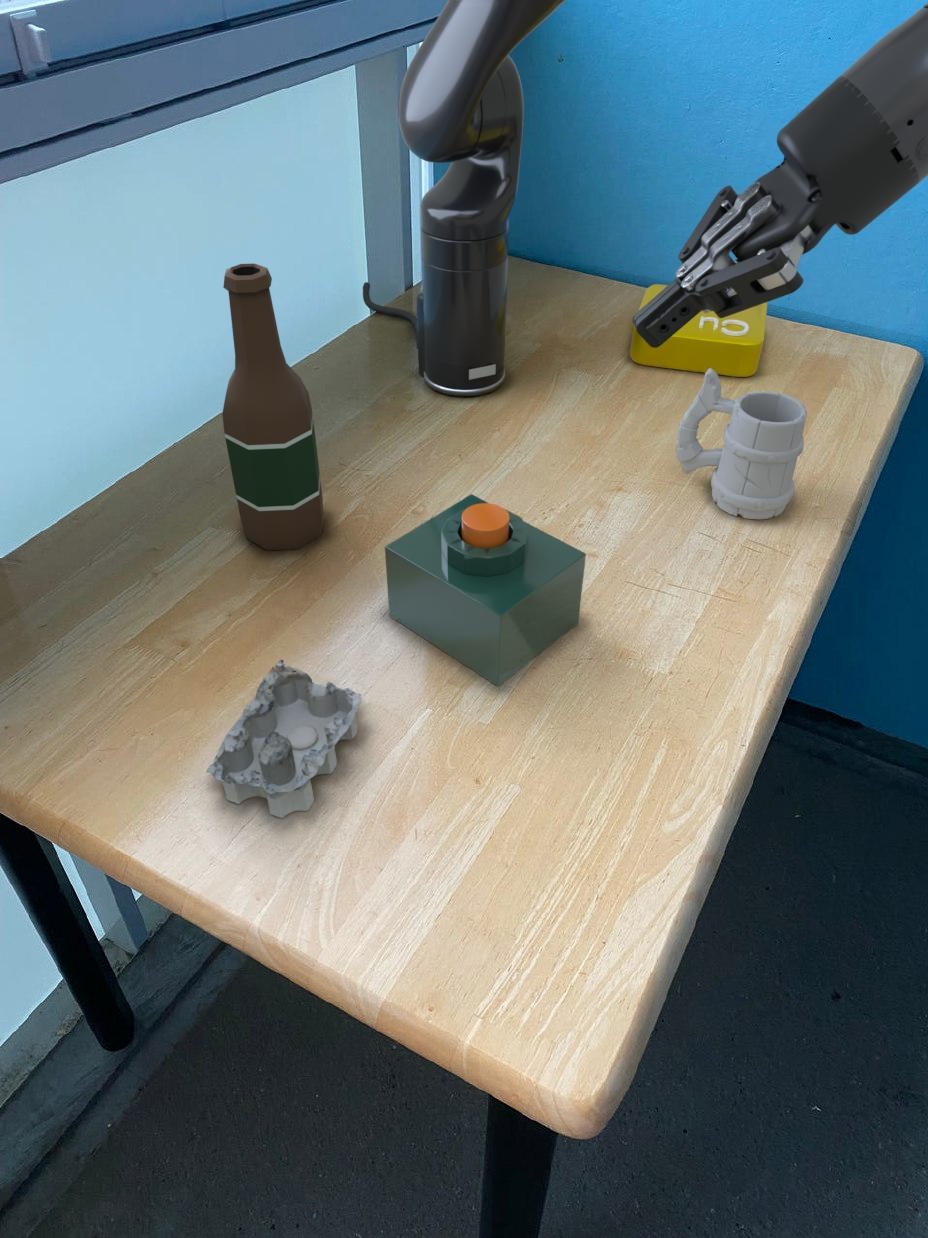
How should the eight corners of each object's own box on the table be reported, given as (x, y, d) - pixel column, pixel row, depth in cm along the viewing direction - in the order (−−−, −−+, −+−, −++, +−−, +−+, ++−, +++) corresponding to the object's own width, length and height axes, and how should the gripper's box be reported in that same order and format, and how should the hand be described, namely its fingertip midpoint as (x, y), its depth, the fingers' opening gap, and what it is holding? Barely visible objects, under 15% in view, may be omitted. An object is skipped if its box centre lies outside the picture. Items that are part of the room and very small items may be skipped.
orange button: (451, 535, 71) (451, 517, 70) (483, 516, 73) (483, 497, 72) (487, 555, 69) (487, 536, 68) (518, 534, 71) (519, 515, 70)
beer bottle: (258, 562, 82) (209, 297, 66) (231, 517, 87) (181, 260, 72) (340, 538, 85) (312, 278, 69) (310, 496, 90) (278, 244, 74)
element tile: (761, 327, 119) (769, 290, 116) (755, 380, 108) (764, 341, 105) (643, 314, 122) (648, 277, 119) (626, 364, 111) (631, 325, 108)
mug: (779, 530, 86) (811, 414, 78) (656, 497, 90) (675, 383, 82) (798, 489, 91) (830, 376, 83) (681, 459, 95) (701, 349, 87)
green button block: (389, 616, 77) (383, 527, 71) (470, 561, 82) (471, 475, 76) (498, 687, 71) (501, 596, 65) (578, 623, 76) (588, 534, 70)
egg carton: (287, 692, 71) (281, 652, 68) (375, 722, 68) (372, 682, 65) (202, 794, 63) (191, 754, 60) (297, 832, 61) (290, 792, 58)
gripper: (812, 48, 56) (591, 257, 64) (896, 102, 46) (622, 341, 54) (874, 144, 60) (657, 330, 67) (964, 212, 50) (698, 421, 57)
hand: (642, 334), depth 61 cm, fingers closed
